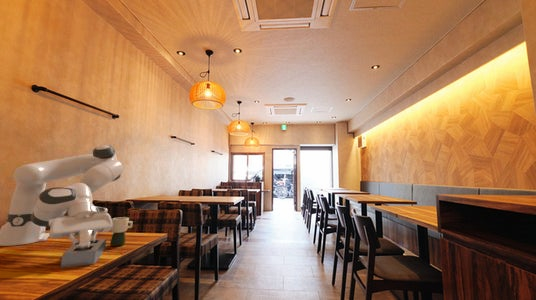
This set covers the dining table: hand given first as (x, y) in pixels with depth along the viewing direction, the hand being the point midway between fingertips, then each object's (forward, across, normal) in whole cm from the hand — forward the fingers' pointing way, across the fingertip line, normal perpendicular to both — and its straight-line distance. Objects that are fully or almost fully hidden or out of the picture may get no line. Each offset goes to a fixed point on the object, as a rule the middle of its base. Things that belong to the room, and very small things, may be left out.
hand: (84, 242), depth 89 cm
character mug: (-6, +17, +16) cm, 24 cm away
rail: (+2, +2, +9) cm, 9 cm away
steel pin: (+3, 0, +4) cm, 5 cm away
